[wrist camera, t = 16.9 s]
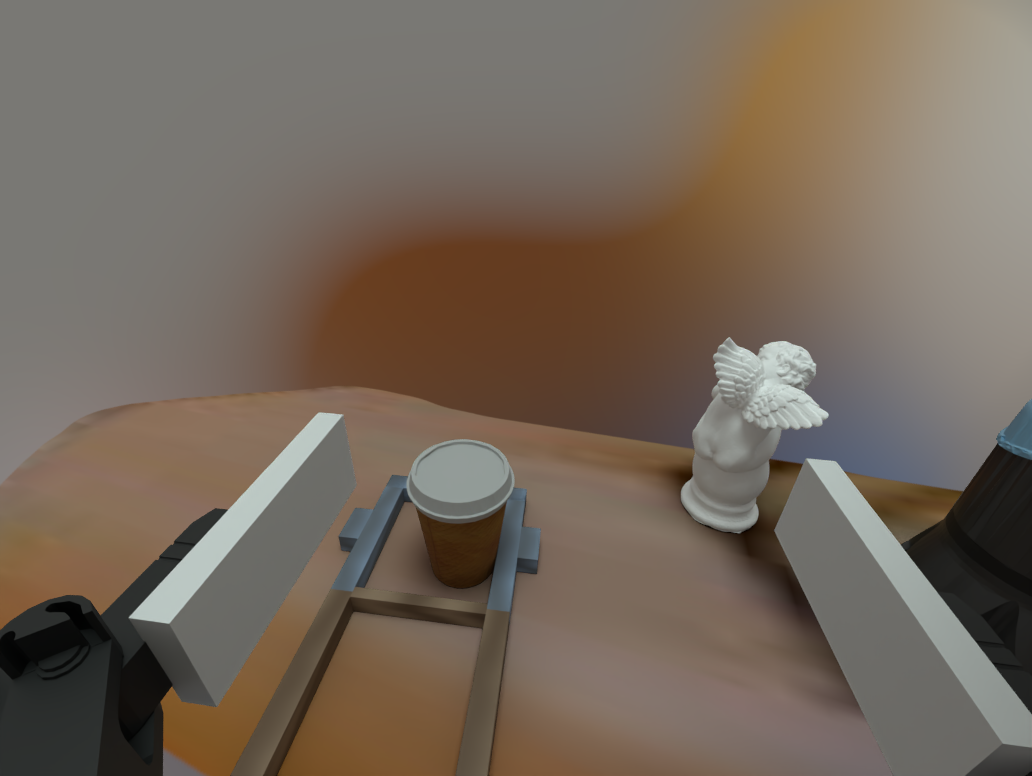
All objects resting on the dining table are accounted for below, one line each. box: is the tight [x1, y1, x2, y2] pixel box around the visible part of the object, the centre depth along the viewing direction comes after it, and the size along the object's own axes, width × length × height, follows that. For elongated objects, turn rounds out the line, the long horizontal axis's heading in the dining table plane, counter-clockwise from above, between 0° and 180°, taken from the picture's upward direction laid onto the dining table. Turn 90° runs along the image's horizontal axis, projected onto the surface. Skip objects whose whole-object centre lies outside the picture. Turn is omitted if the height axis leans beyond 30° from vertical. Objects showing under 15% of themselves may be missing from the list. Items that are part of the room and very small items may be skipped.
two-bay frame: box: [230, 475, 541, 776], centre depth 40 cm, size 20×31×2 cm, turn 173°
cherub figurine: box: [681, 337, 828, 533], centre depth 47 cm, size 12×12×22 cm
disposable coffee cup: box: [407, 439, 514, 588], centre depth 43 cm, size 10×10×12 cm
